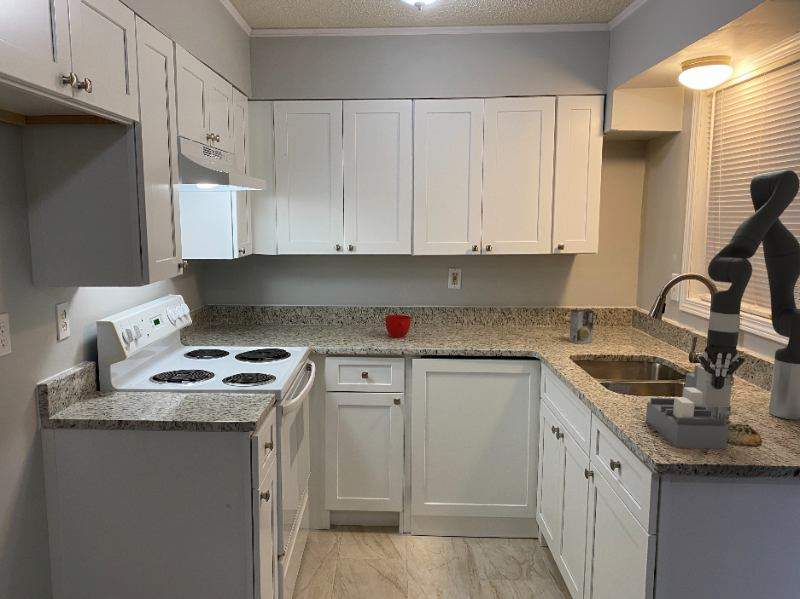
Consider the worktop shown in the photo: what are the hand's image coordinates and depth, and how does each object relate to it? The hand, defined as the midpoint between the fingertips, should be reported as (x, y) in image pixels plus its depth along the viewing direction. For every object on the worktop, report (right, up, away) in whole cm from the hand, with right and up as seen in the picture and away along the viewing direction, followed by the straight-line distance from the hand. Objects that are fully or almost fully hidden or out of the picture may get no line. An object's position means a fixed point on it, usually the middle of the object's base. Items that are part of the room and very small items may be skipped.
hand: (716, 388), depth 162 cm
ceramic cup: (-91, +6, +123) cm, 153 cm away
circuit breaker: (+5, -10, +15) cm, 19 cm away
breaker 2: (-14, -7, -9) cm, 18 cm away
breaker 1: (-7, -6, +1) cm, 9 cm away
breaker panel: (-11, -12, -3) cm, 17 cm away
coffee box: (-1, +4, +119) cm, 120 cm away
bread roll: (+3, -13, -6) cm, 15 cm away
